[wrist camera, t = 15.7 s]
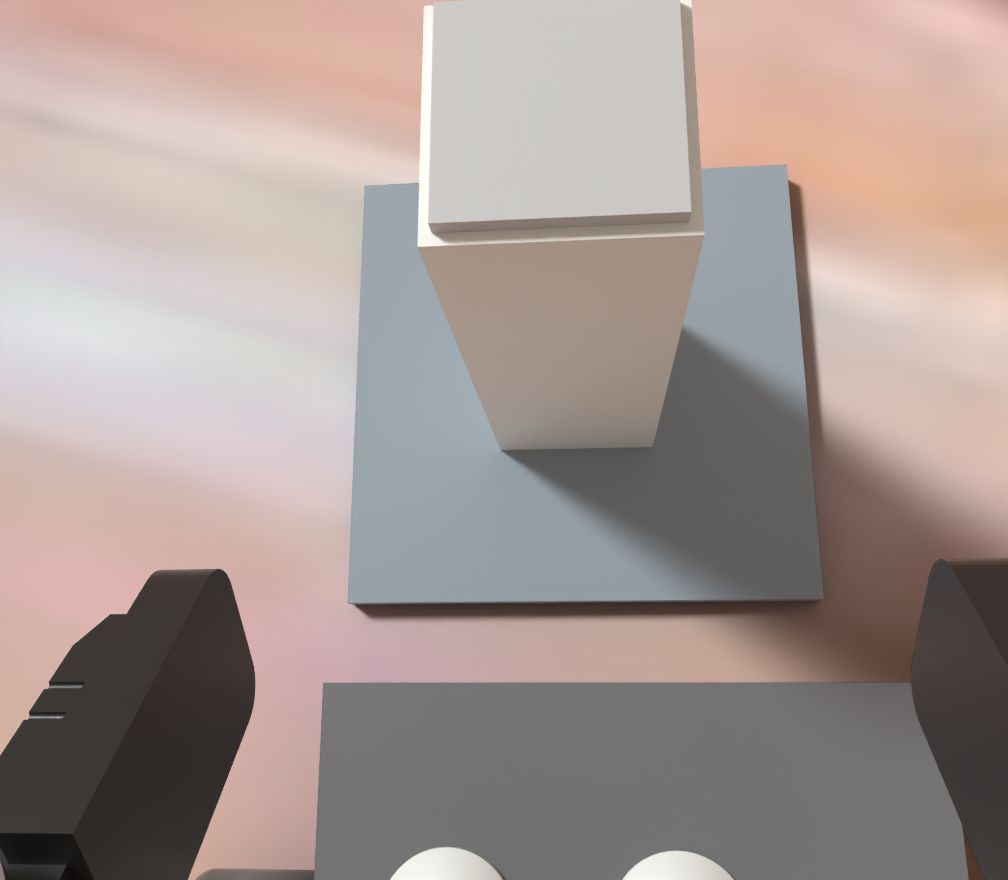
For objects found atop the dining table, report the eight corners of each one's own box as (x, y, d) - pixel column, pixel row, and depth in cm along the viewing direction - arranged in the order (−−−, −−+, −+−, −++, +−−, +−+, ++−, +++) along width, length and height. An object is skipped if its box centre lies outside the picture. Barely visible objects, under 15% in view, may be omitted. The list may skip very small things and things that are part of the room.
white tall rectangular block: (500, 450, 25) (413, 237, 13) (501, 309, 26) (420, -8, 14) (652, 447, 24) (707, 224, 13) (646, 304, 25) (692, -26, 14)
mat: (353, 604, 25) (347, 603, 24) (369, 196, 28) (364, 185, 27) (818, 600, 24) (823, 598, 23) (782, 175, 27) (786, 164, 26)
